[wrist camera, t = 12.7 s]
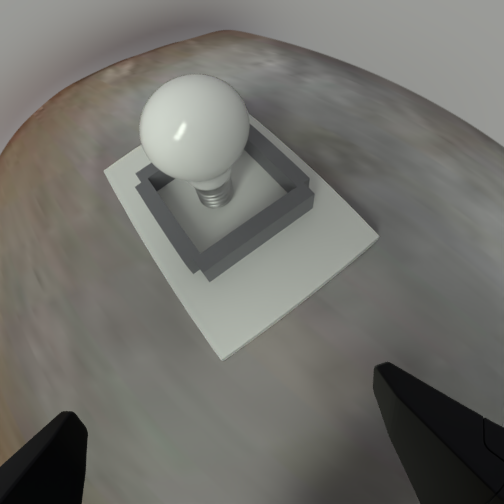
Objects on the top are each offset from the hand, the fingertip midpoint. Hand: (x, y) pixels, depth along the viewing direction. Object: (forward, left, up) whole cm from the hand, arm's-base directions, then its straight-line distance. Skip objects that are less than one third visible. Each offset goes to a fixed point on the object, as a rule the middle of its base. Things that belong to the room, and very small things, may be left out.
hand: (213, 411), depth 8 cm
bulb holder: (+5, -14, -13) cm, 19 cm away
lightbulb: (+6, -13, -12) cm, 19 cm away
